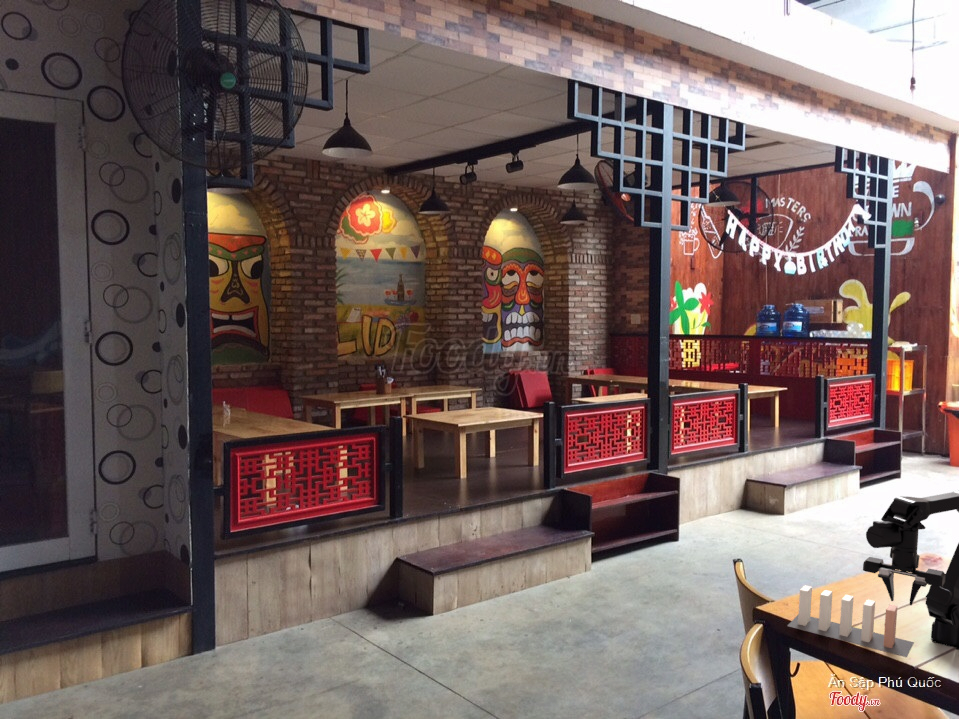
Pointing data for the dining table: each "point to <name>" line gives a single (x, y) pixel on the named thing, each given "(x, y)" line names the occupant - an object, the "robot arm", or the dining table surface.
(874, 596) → the dining table surface
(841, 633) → the ivory domino
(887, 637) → the terracotta domino
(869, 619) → the ivory domino
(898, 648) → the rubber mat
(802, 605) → the ivory domino
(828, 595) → the ivory domino
